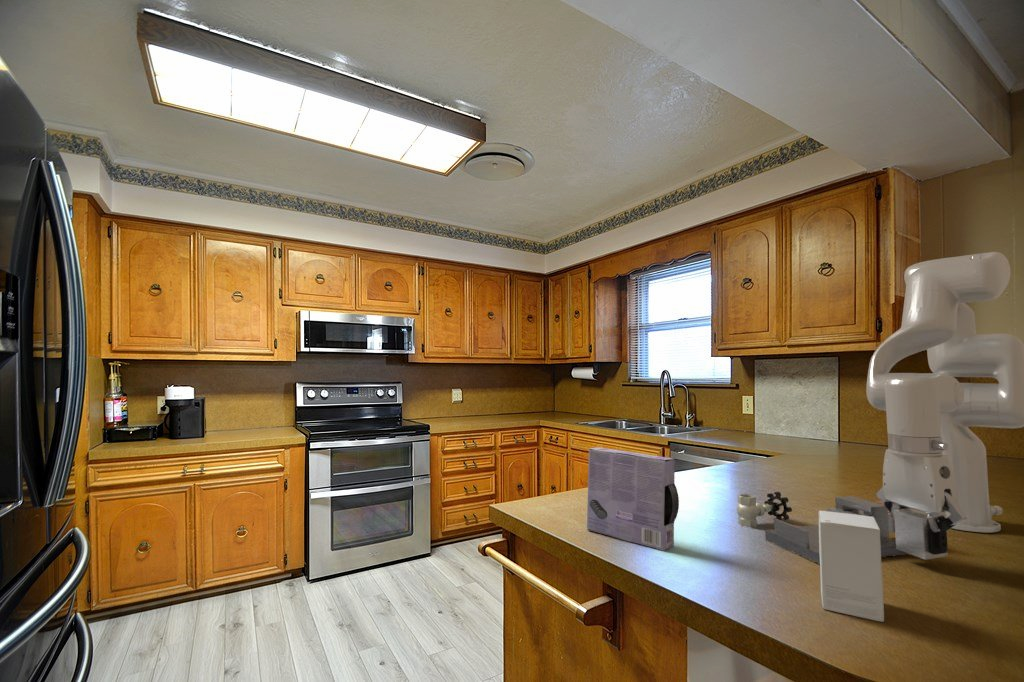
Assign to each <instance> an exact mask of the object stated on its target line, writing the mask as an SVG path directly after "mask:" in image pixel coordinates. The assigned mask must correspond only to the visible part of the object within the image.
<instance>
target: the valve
mask: <svg viewBox="0 0 1024 682" xmlns="http://www.w3.org/2000/svg"><path fill="white" fill-rule="evenodd" d="M766 497H767V500H765V501H764V503H763V504H762V502H761V503H760V502H759V501H757V497H756V496H755V495H752V494H747V493H738V495H737V502H738V504H737V507H736V513H737V515H738V525H739V524H740V525H741V526H740V527H743V526H746V527H745V528H748V527H753V528H756V527H755V526H757V527H758V523H757V522H758V521H757V517H762V516H764V515H765V513H767V514H768V515H769V516H773V517H774V519H779V520H781V521H786V520H790V516H789V515H788V513H791V512H792V511H793V508H792V507H791V506H788V505H787V503H788V502H789V498H788V497H786V496H785V497H782V494H781V492H780V491H774V493H772V492H771V493H766ZM775 500H778V501H780V502H778V501H777V502H776V501H775ZM782 507H783V508H782ZM782 509H783V511H782V513H779V511H780V510H782Z"/></svg>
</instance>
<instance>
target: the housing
mask: <svg viewBox="0 0 1024 682" xmlns="http://www.w3.org/2000/svg"><path fill="white" fill-rule="evenodd" d="M936 517H937V516H936ZM937 520H938V517H937ZM894 521H895V535H894V536H895V540H896V549H898V550H901V551H903V552H906V553H908V555H912V556H914V557H917V558H919V559H922V560H932V559H938V558H945V557H948V551H947V552H946V553H942V554H936V555H934V554H931V553H930V552H929V541H928V530H932V529H931V527H930V524H929V521H928V518H927V515H926V512H922V511H919V510H915V509H912V508H906V509H898V510H894ZM938 522H939V520H938Z"/></svg>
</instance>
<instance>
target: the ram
mask: <svg viewBox="0 0 1024 682" xmlns="http://www.w3.org/2000/svg"><path fill="white" fill-rule="evenodd" d="M874 502H875V503H879V504H882V505H884V503H883V502H882V501H881V500H875V501H874ZM827 511H829V512H838V513H847V514H855V515H863V516H864V511H861V510H853V511H844V510H841V509H837V508H836V507H827ZM890 514H891V513H890V512H889V510H888V522H889V534H890V533H895V521H894V519H893V518H892V517H891V515H890Z"/></svg>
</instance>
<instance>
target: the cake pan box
mask: <svg viewBox="0 0 1024 682" xmlns="http://www.w3.org/2000/svg"><path fill="white" fill-rule="evenodd" d="M675 462H676V461H675V458H674V457H673V458H672V457H666V456H657V455H652V454H646V453H640V452H634V451H626V450H625V451H624V450H619V449H612V448H608V447H607V448H606V447H600V446H597V447H590V448H589V449H588V477H587V478H588V479H587V480H588V481H587V504H586V505H587V510H586V513H587V514H586V530H587V531H590V532H595V533H599V534H602V535H606V536H609V537H612V538H614V539H617V540H622V541H625V542H628V543H635V544H638V545H642V546H645V547H649V548H653V549H657V550H659V551H663V552H665V551H666V550H669V549H671V548H672V547H674V545H675V521H676V520H677V516H678V513H679V508H680V506H679V505H680V498H679V493H678V489H677V486H676V484H675V483H676V482H675V475H676V473H675V465H676V463H675ZM670 547H671V548H670Z"/></svg>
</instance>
